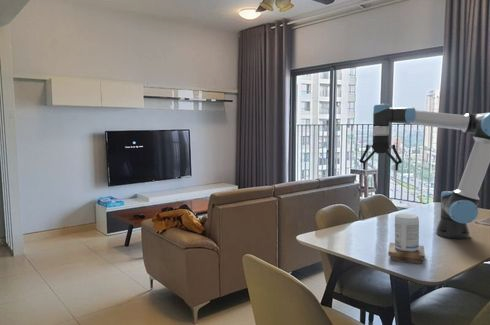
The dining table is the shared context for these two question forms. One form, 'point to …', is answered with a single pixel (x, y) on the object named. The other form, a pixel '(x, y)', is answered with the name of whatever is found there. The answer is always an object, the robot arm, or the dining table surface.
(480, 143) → the robot arm
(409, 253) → the walnut stand
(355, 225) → the dining table surface
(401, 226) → the supplement tub
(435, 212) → the dining table surface
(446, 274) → the dining table surface
